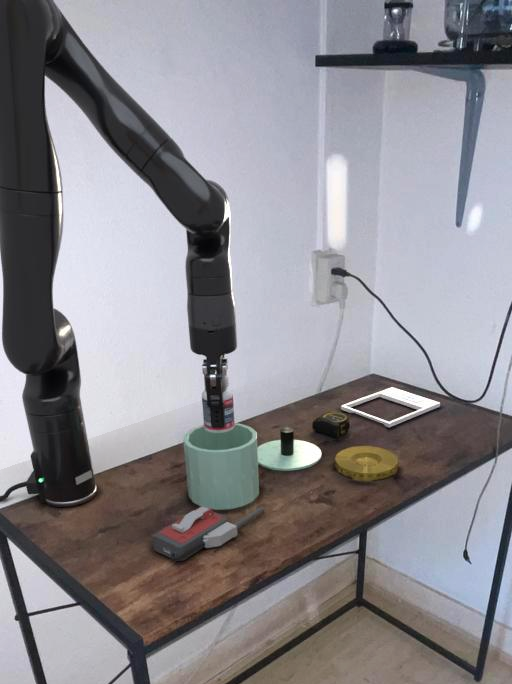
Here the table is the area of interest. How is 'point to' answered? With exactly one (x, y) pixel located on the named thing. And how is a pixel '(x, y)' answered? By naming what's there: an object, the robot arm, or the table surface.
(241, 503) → the cylindrical container
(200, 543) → the walkie-talkie
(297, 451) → the lid
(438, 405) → the photo frame
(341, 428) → the tape measure
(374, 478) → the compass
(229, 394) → the pill bottle
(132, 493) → the table surface
